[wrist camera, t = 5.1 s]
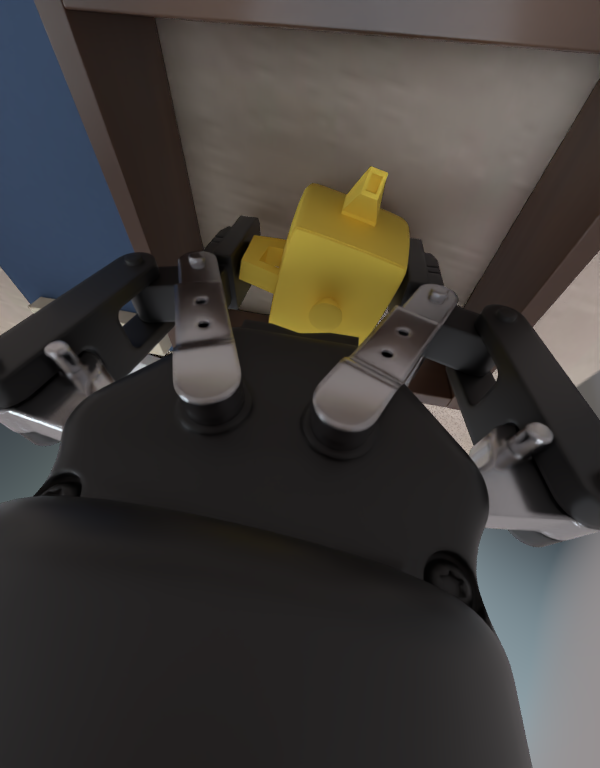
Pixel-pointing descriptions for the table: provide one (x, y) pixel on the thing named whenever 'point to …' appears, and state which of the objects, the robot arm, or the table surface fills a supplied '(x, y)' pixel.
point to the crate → (342, 15)
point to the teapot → (333, 261)
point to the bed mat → (49, 174)
